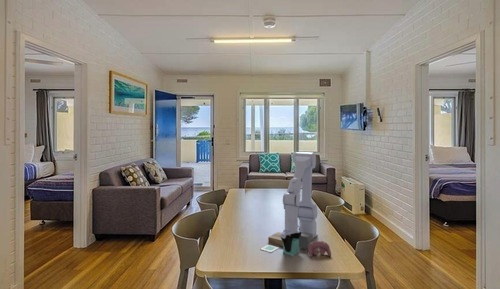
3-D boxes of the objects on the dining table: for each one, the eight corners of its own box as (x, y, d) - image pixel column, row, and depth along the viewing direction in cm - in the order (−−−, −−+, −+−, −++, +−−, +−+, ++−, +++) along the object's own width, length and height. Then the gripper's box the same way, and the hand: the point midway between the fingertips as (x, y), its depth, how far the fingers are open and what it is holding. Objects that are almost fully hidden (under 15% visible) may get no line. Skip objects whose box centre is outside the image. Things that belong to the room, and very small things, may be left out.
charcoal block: (303, 244, 149) (303, 231, 148) (312, 246, 146) (312, 234, 145) (298, 247, 145) (298, 234, 144) (307, 250, 142) (307, 237, 141)
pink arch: (329, 257, 137) (327, 241, 139) (332, 257, 132) (330, 240, 135) (307, 258, 136) (306, 241, 139) (309, 257, 132) (308, 240, 135)
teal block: (288, 249, 142) (288, 236, 141) (298, 252, 139) (298, 239, 138) (283, 253, 138) (283, 239, 137) (293, 255, 135) (293, 242, 134)
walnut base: (278, 237, 157) (278, 232, 157) (293, 241, 152) (293, 235, 151) (268, 243, 150) (268, 236, 150) (284, 247, 144) (284, 241, 144)
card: (268, 245, 147) (268, 244, 147) (279, 247, 144) (279, 247, 144) (260, 249, 142) (260, 248, 142) (271, 252, 138) (271, 251, 138)
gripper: (290, 225, 129) (290, 257, 130) (306, 217, 141) (306, 246, 142) (276, 222, 134) (276, 253, 134) (293, 214, 145) (292, 243, 146)
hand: (290, 249), depth 138 cm, fingers closed on teal block, 5 cm apart
